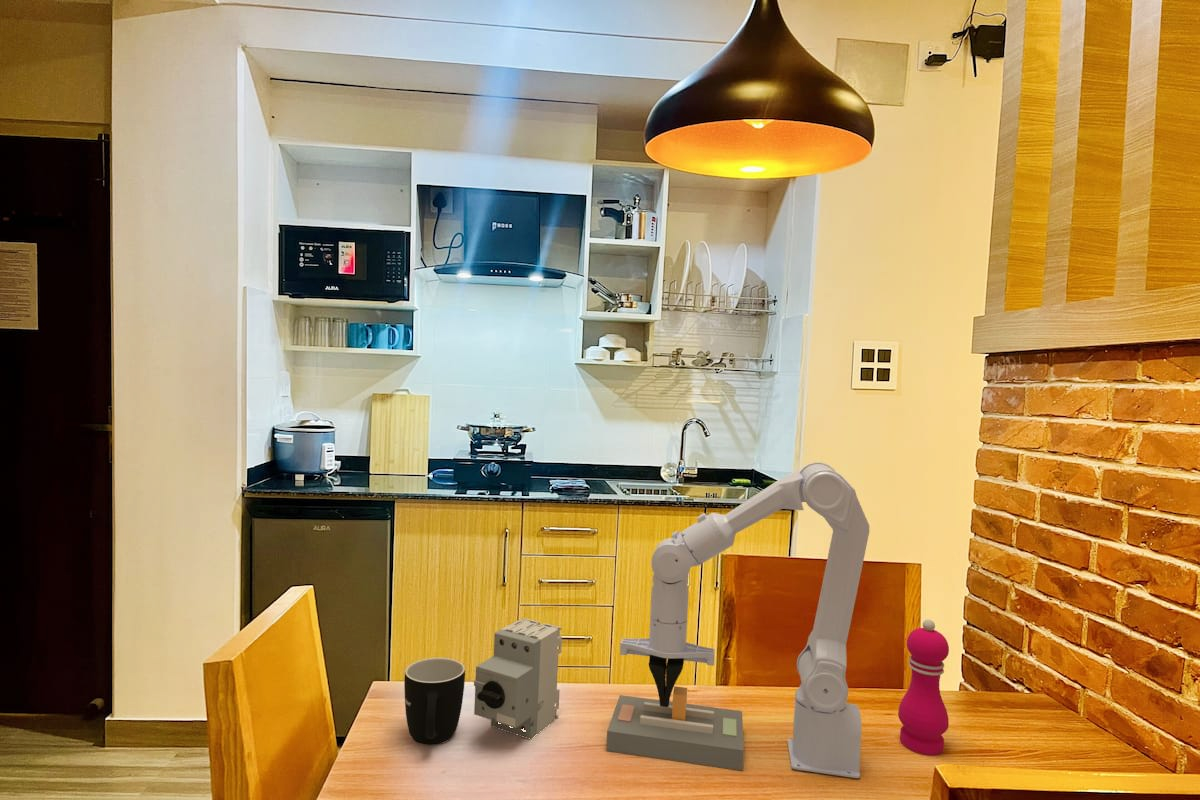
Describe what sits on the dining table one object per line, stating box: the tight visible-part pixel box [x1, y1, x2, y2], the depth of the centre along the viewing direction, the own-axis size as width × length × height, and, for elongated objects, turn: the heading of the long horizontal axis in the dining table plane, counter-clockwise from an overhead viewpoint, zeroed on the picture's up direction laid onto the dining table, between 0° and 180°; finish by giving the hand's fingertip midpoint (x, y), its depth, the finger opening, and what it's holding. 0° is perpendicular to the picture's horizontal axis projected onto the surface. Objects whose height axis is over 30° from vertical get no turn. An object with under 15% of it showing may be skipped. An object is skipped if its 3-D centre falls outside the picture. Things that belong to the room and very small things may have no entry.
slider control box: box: [605, 694, 745, 772], centre depth 106 cm, size 20×12×4 cm, turn 79°
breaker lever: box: [672, 685, 688, 721], centre depth 106 cm, size 2×3×4 cm
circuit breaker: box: [473, 617, 563, 740], centre depth 107 cm, size 8×14×15 cm, turn 152°
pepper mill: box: [897, 619, 950, 756], centre depth 108 cm, size 7×7×20 cm
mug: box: [403, 657, 466, 746], centre depth 103 cm, size 12×9×10 cm
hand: (664, 703), depth 107 cm, fingers closed
